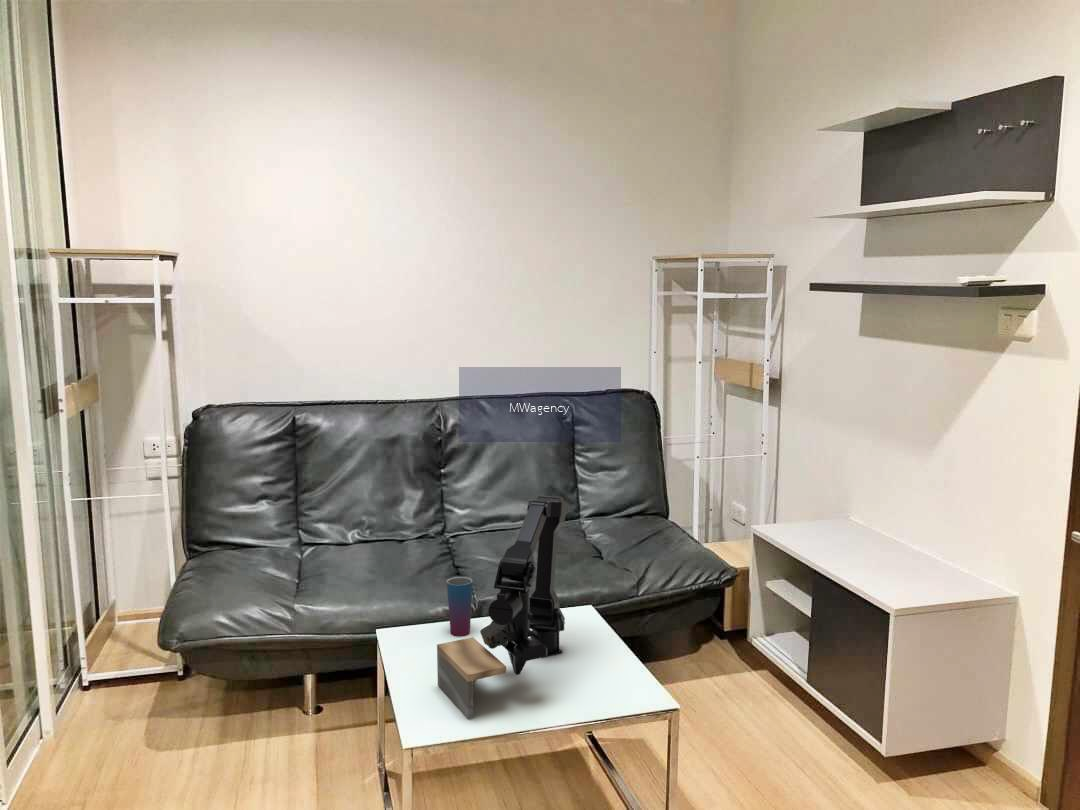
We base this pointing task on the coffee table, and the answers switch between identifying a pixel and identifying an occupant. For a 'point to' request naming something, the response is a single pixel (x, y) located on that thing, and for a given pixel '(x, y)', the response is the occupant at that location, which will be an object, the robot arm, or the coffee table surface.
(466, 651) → the block
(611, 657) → the coffee table surface
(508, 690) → the coffee table surface
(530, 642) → the robot arm
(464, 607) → the cup
